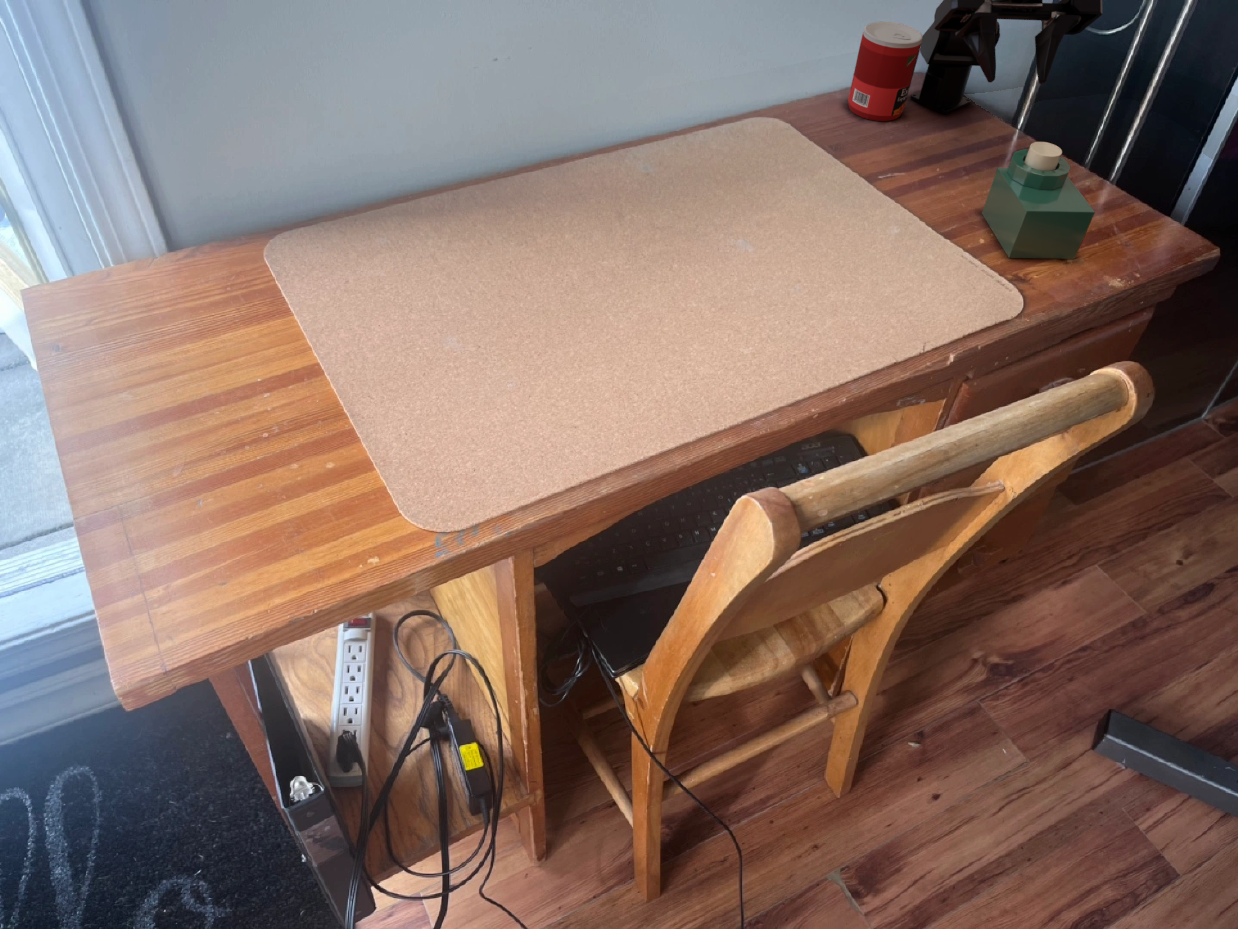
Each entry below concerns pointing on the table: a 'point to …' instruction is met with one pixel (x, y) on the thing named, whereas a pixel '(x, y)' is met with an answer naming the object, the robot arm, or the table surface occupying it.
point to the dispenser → (1037, 211)
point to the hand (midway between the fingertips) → (1017, 81)
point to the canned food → (884, 70)
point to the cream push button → (1043, 156)
